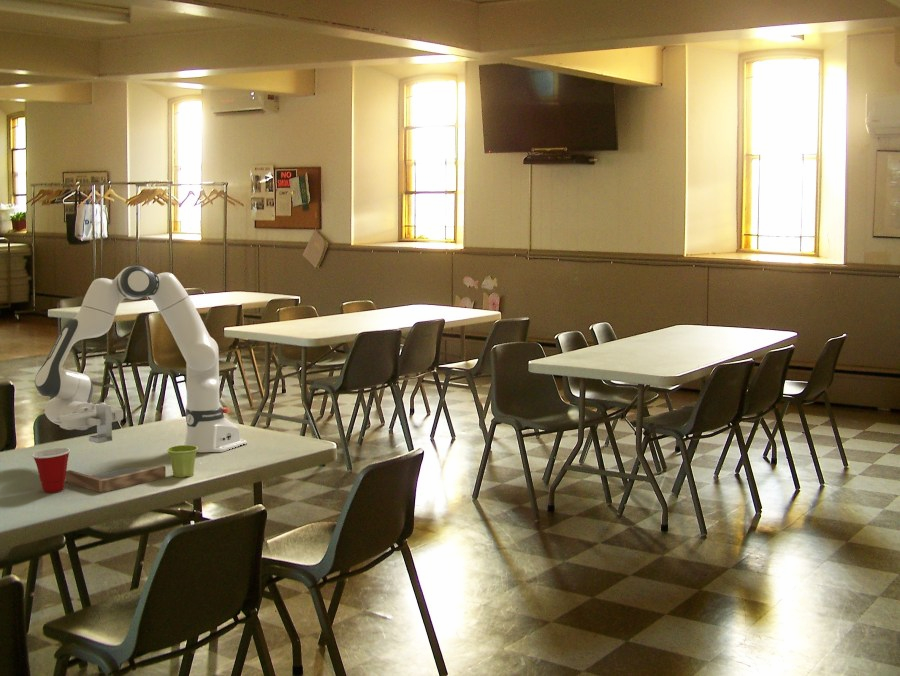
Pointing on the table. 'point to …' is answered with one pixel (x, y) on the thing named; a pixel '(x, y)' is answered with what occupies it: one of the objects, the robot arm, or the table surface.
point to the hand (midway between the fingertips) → (105, 421)
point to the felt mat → (115, 473)
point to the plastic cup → (52, 468)
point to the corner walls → (115, 479)
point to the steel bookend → (106, 429)
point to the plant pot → (182, 460)
